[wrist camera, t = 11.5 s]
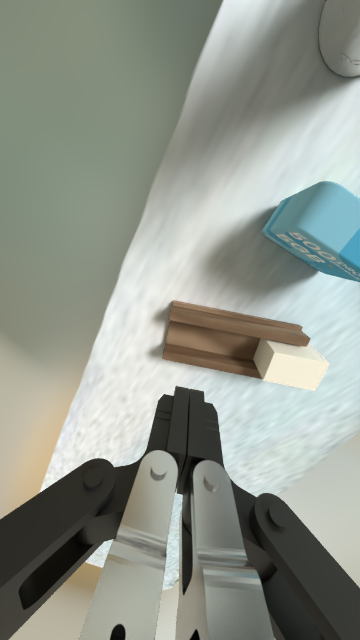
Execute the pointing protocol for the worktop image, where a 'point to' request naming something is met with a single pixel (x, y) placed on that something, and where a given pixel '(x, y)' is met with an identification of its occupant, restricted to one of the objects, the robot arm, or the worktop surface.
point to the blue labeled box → (320, 229)
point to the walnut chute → (223, 338)
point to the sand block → (290, 364)
